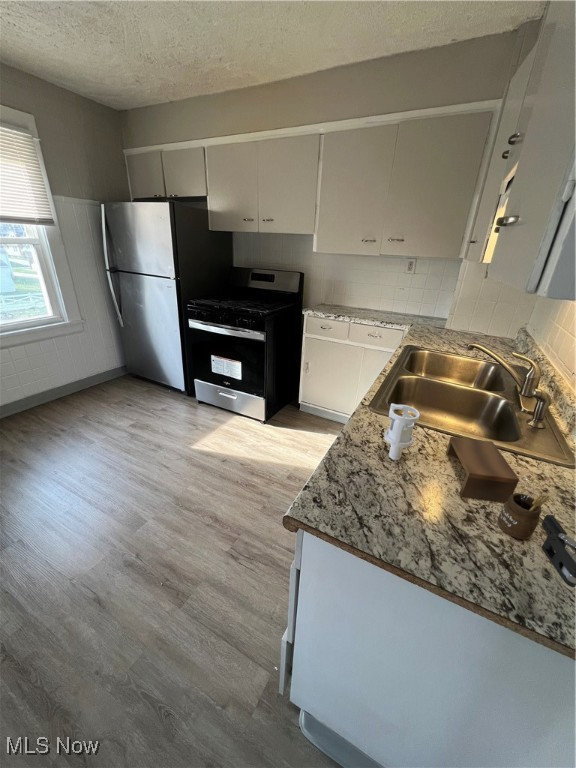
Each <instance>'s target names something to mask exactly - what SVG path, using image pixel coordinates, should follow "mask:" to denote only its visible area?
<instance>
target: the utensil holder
mask: <svg viewBox="0 0 576 768" xmlns="http://www.w3.org/2000/svg"><path fill="white" fill-rule="evenodd" d="M525 481H526V483H525V485H524V486H527V483H528V486H527V487H530V488H527V489H526V488H525V487H524V486H523V485H522V487H518V490H520V489H521V488H523V487H524V488H523V490H522V492H521V493H520V492H514V493H513V494H512V495H511V496H510V497H509V500H508V501H506V502H505V503H503V505H502V508H501V509H500V512H499V514H498V517H497V523H498V526H499V528H500V529H501V530H502V531H503V532H505V533H506V534H508V536H511V537H513V538H515V539H518V540H527V539H529V538H531V537H532V536H533V534H534V533H535V530H536V529H537V527H538V525H539V522H540V516H541V514H542V506H543V505H544V503H545V502H546V501H547V500H548V499H549V498H550V497H551V496H550V495H547V494H544V495H543V494H539V495H538V496H537V497H536V498H535V499H534V498H533V497H532V496H530V495H532V492H531V491H534V490H535V488H532V487H535V482H532V481H531V479H530V478H527V477H526V478H522V479H521V481H520V483H518V486H521V484H524V482H525ZM528 481H529V482H528ZM532 483H533V486H530V484H532ZM531 488H532V489H531ZM525 489H526V491H528V489H529V492H528V494H527V493H525V494H524V492H525Z"/></svg>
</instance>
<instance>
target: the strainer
mask: <svg viewBox="0 0 576 768" xmlns="http://www.w3.org/2000/svg"><path fill="white" fill-rule="evenodd" d="M395 410H396V411H397V410H401V411H402V415H398V414H396V413H395ZM409 412H410V413H412V414H414V415H415V416H413V415H412V414H409ZM420 416H421V413H420V412H419V410H417V408H415V407H412V406H411V405H407V404H396V403H393V402H391V404H390V406H389V412H388V418H389V419H390V424H389V427H388V429H386V430H385V432H384V440H385V441H386V442H387V443H388V444H390V447H389V452H388V457H389V458H390V459H391V460H393V461H399V460H401V459H402V458H401V457H402V454H403V451H404V450H403V449H404V448H410V447H411V446H413V444H414V441H415V437H414V435H413V430H414V426H415V423H417V422H418V421H419V420H420Z"/></svg>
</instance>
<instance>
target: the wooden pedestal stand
mask: <svg viewBox="0 0 576 768" xmlns="http://www.w3.org/2000/svg"><path fill="white" fill-rule="evenodd" d="M445 455H446V456H447V457H454V458H458V459H459V462H460V464H461V466H462V467H463V468H462V469H463V470H464V471H465V477H464V479H463V482H462V485H461V487H460V491H459V495H460V497H461V498H467V499H474V500H480V501H487V502H493V503H500V504H505V502H506V501H508V500H509V497H510V496H511V495H512V494H514V493H515V491H516V488H517V486H518V485H519V482H520V478H519V477H518V475H517V473H516V472H515V471H514V470H513V468H512V466H511V465H510V464H509V463H508V462H507V460H506V458H505V457H504V455H502V453H501V451H500V450H499V449H498V447H497V446H496V444H495V443H494V442H493V441H491V440H483V439H474V438H468V437H467V438H466V437H458V436H450V438H449V441H448V444H447V448H446V451H445Z"/></svg>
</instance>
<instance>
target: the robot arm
mask: <svg viewBox="0 0 576 768" xmlns="http://www.w3.org/2000/svg"><path fill="white" fill-rule="evenodd" d="M541 528H542V529H543V531H544V532H545V533H546V535H547V536H546V539H545V540H544V542H543V544H542V545H541V546H540V549H541V550H542V552H543V554H544V555H545V556H546V558H547V559H548V561H549V562H550V563H551V565H552V567H554V570H555V571H556V572H557V574H559V576H560V578H561V579H562V581H563V582H564V583H565V584H566V585H567V586H569V587H570V588H575V587H576V540H574V539H573V538H571V537H570V536H568V532H566V531H565V529H564V528H563V526H562V525H561V523H560V522H559V521H558V519H557V518H556V517H555V515H553V514H545V516H544V518H543V520H542V522H541ZM567 546H568V548H571V549H572V550H573V551H574V553H573V552H572V551H571V550H569V549H568V548H566V547H567Z"/></svg>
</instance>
